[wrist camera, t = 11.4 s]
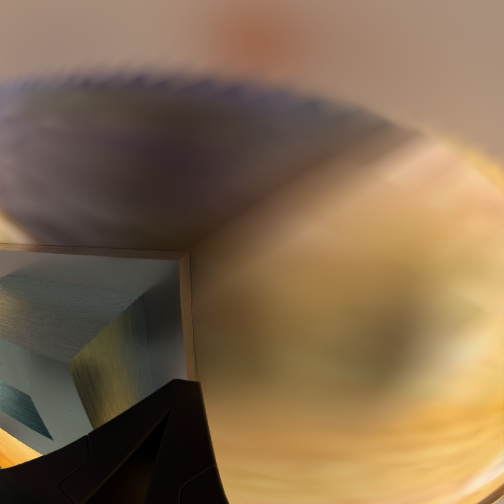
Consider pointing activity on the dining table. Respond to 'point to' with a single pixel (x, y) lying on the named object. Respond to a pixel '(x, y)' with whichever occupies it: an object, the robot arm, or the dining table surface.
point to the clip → (69, 359)
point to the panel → (124, 279)
